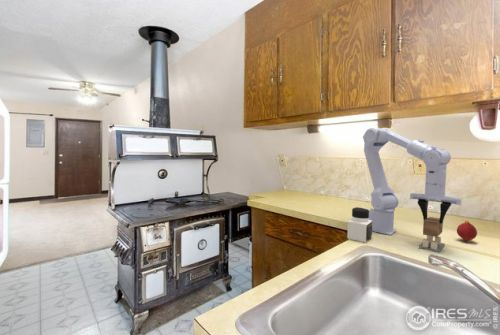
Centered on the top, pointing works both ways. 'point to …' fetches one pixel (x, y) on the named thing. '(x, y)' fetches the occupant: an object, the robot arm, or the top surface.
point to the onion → (467, 231)
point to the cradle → (432, 244)
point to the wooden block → (432, 227)
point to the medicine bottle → (360, 225)
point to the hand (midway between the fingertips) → (433, 221)
